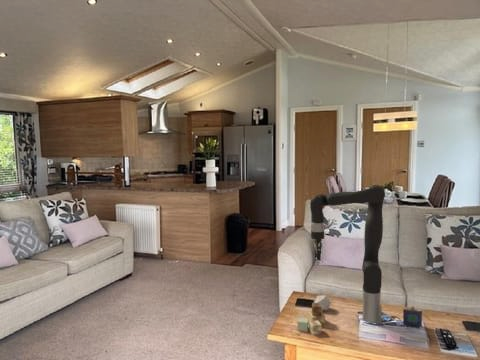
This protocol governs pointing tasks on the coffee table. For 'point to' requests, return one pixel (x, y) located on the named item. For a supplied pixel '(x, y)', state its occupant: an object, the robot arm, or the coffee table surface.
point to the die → (323, 302)
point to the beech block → (315, 327)
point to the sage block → (303, 324)
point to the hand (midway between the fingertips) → (317, 257)
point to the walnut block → (316, 309)
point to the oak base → (317, 318)
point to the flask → (412, 317)
